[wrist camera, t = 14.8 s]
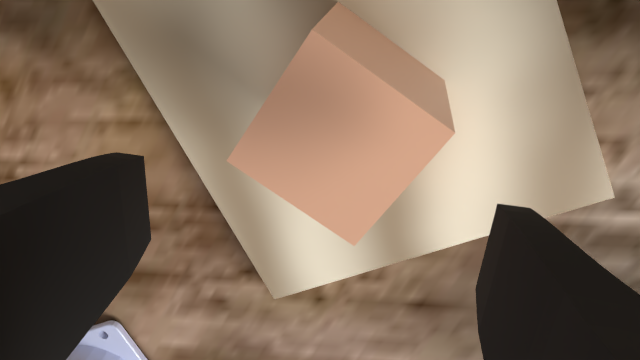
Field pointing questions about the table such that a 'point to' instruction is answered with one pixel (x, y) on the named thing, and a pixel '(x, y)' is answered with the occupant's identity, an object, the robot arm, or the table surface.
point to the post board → (438, 175)
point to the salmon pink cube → (346, 126)
